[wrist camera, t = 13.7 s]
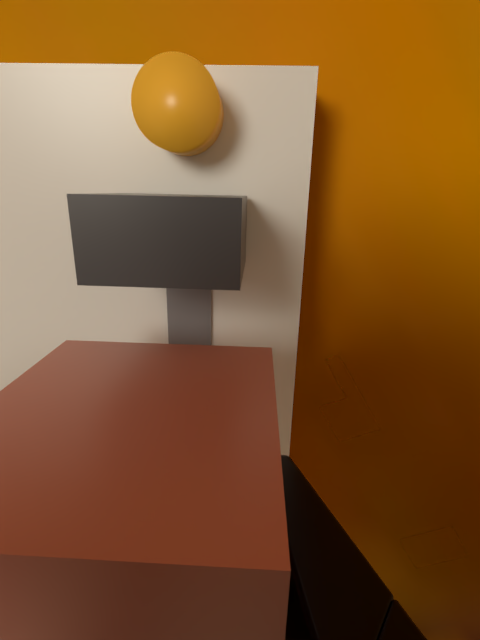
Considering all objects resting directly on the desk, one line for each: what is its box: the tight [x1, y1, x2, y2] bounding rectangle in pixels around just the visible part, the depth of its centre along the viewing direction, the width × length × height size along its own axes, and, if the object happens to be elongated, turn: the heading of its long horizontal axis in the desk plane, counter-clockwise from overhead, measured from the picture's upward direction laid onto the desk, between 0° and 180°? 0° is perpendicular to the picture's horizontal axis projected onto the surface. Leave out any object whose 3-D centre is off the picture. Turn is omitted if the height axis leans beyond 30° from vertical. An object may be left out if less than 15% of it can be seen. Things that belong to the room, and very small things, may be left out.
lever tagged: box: [67, 193, 247, 291], centre depth 8 cm, size 2×3×3 cm, turn 89°
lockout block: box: [0, 340, 291, 640], centre depth 6 cm, size 4×4×5 cm
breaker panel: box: [0, 52, 318, 456], centre depth 11 cm, size 11×16×3 cm
